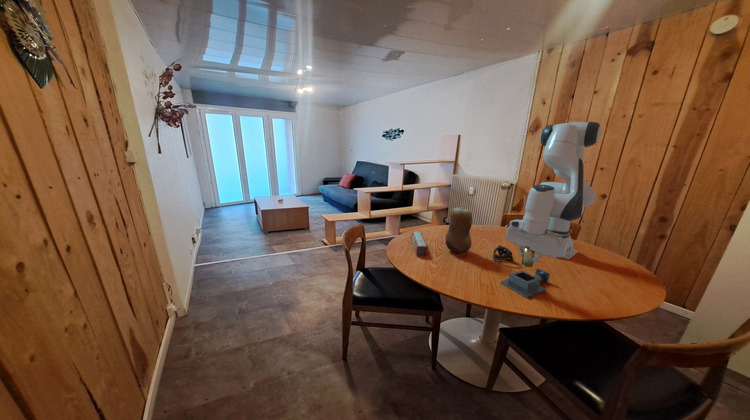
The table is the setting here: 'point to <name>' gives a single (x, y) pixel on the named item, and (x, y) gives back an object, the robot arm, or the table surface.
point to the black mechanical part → (502, 251)
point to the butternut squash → (459, 231)
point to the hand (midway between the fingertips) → (528, 258)
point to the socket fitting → (527, 282)
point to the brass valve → (528, 257)
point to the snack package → (419, 244)
